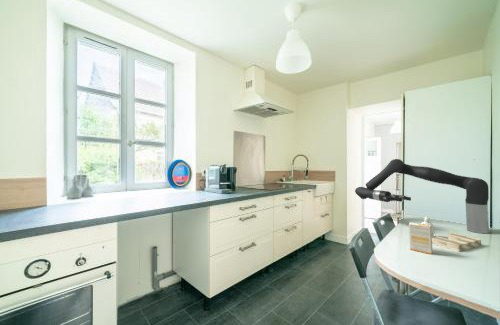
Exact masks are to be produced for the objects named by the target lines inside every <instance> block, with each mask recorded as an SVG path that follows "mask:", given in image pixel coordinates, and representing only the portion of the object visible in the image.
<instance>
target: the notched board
mask: <svg viewBox="0 0 500 325" xmlns="http://www.w3.org/2000/svg"><path fill="white" fill-rule="evenodd" d="M432 245H435V246H439V247H443V248H445V249H449V250H452V251H455V252H458V253H459V252H462V251H467V250H469V249H473V248H474V249H475V248H477V247H480V246H482V239H481V238H478V237H477V238H476V237H472V236H467V235H464V234H459V233H455V232H452V233H448V234H447V238H445V237H441V236H434V237H433V238H432Z"/></svg>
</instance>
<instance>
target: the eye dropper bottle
mask: <svg viewBox="0 0 500 325" xmlns="http://www.w3.org/2000/svg"><path fill="white" fill-rule="evenodd" d="M420 223H421V224H428V225H431V233H432V238H434V237H435V235H434V233H435V230H434V223H432V222H430V218H429V217H428V215H426V216H425V217H423V221H422V222H420Z"/></svg>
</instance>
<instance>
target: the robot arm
mask: <svg viewBox="0 0 500 325" xmlns="http://www.w3.org/2000/svg"><path fill="white" fill-rule="evenodd" d="M395 173H396V174H403V175H408V176H411V177H415V178H417V179H421V180H424V181H427V182H428V181H429V182H432V183H437V184H443V185H450V186H452V187H453V186H454V187H457V188H460V189H463V190H465V194H466V195H465V200H464V201H465V218H466V222H465V223H466V230H467V231H469V232H473V233H477V234H490V225H489V207H488V206H489V205H488V204H489V184H488V182H487V181H485V180H484V179H482V178H479V177H470V176H464V175H458V174H456V173H455V174H454V173H451V172H448V171H445V170H442V169H438V168H434V167H429V166H417V165H410V164H407V163H404V161H403V160H401V159H399V158H394V159H391V161H389V163H388V164H387V165H386V166H385V167H384V168H383V169H382V170H381V171H380V172H379V173H377V174H376V175H375V176H373V177H372V178H371V179H370V180H368V181H367V182H366V183H365V186H366V187H365V186H359V187H356V188H355V190H354V192H355V194H356V195H357V196H358V197H359V198H360V199H362V200H367V199H369V200H374V201H375V200H376V201H378V202H379V201H380V202H384V203H389V202H403V201H409V202H410V201H412V198H411V196H407V195H403V194H395V193H394V194H392V193H391V192H390V190H389V191H388V190H387V191H386V190H381V189H380V190H376V189H377V188H379V186H380V185H382V184H383V183H384V182H385V181H386V180H387V179H388V178H389V177H390V176H391V175H393V174H395Z"/></svg>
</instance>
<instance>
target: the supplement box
mask: <svg viewBox="0 0 500 325" xmlns="http://www.w3.org/2000/svg"><path fill="white" fill-rule="evenodd" d="M421 223H422V222H413V221H410V222H409V223H408V229H409V230H408V234H409V249H410V250H411V251H414V252H415V251H416V252H420V253H425V254H428V255H432V254H433V244H432V233H431V225H428V224H421Z"/></svg>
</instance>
